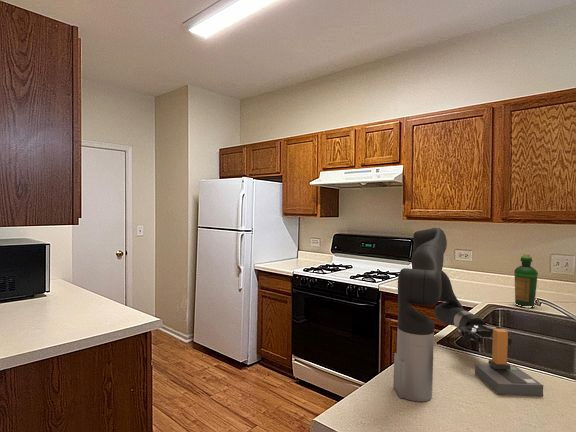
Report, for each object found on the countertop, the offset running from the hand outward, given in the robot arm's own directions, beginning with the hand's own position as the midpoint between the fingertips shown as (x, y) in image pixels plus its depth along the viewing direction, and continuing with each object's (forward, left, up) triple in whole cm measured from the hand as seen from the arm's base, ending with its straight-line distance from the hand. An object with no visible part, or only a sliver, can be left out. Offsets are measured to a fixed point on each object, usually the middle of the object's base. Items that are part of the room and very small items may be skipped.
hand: (495, 341), depth 110 cm
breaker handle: (0, -2, -7) cm, 7 cm away
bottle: (+64, +85, -10) cm, 107 cm away
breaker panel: (0, -6, -10) cm, 12 cm away
